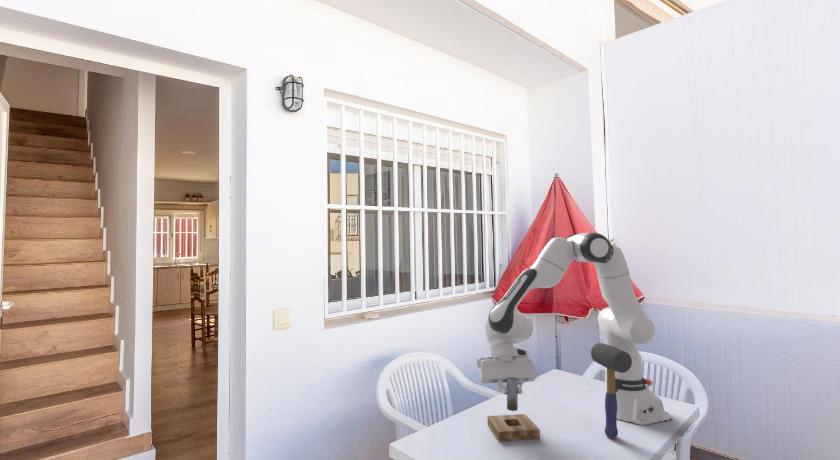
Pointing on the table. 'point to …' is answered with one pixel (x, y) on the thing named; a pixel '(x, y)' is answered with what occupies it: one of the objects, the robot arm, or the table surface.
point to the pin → (512, 394)
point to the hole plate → (513, 427)
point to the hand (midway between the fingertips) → (512, 393)
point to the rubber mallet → (611, 379)
